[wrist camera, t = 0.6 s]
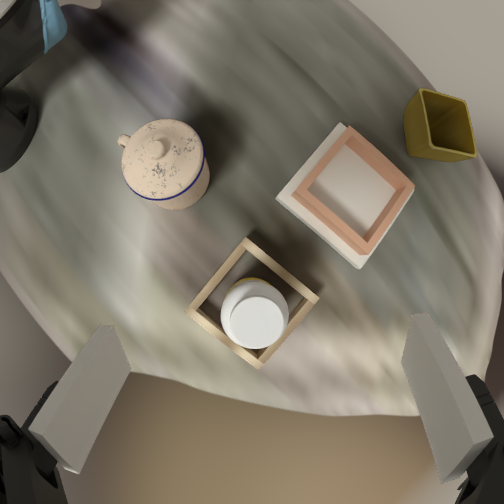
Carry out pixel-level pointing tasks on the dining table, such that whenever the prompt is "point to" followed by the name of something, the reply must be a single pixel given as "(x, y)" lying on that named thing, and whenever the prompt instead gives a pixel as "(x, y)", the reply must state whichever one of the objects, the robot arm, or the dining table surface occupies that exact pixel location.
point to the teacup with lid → (165, 163)
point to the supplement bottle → (254, 313)
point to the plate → (348, 194)
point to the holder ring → (218, 331)
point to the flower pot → (438, 127)
